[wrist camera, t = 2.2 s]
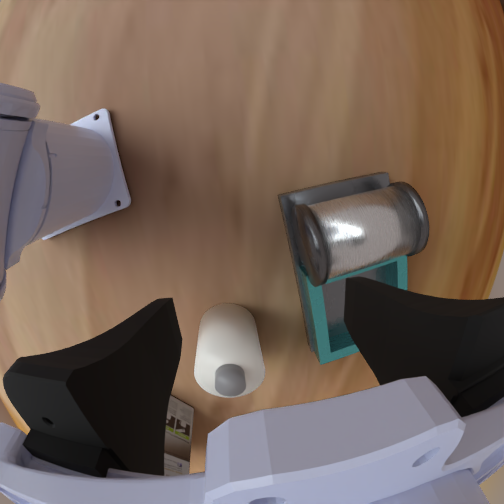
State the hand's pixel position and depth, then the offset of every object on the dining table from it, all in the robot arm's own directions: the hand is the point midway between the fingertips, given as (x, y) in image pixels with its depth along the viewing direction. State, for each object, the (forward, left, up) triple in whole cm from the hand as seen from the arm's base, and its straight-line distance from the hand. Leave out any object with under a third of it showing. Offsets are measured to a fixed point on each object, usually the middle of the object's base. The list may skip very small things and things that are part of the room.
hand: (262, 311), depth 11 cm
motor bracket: (+8, -4, -10) cm, 14 cm away
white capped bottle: (-3, -7, -11) cm, 13 cm away
